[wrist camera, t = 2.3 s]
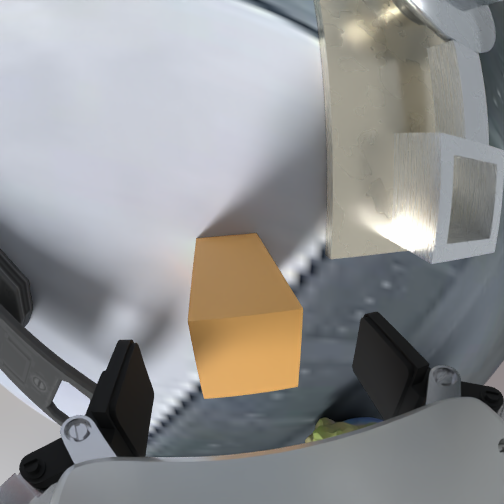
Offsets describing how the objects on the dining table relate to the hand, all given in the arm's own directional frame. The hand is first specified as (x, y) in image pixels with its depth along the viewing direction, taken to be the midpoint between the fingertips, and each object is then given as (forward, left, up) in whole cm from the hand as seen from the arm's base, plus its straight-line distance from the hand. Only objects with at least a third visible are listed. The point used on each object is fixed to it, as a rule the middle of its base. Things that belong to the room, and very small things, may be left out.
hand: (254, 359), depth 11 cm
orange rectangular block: (-1, 0, -10) cm, 10 cm away
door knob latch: (-14, +16, -9) cm, 23 cm away
